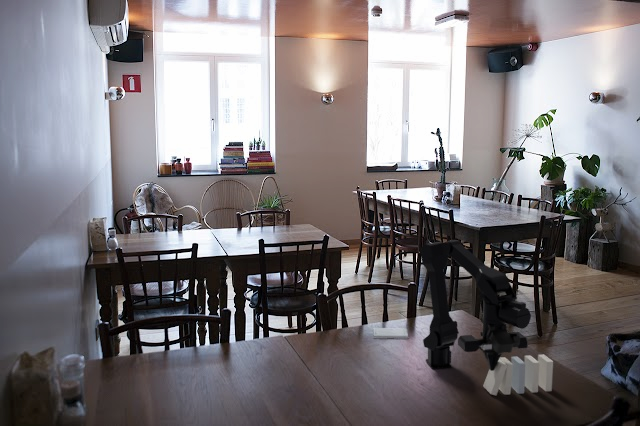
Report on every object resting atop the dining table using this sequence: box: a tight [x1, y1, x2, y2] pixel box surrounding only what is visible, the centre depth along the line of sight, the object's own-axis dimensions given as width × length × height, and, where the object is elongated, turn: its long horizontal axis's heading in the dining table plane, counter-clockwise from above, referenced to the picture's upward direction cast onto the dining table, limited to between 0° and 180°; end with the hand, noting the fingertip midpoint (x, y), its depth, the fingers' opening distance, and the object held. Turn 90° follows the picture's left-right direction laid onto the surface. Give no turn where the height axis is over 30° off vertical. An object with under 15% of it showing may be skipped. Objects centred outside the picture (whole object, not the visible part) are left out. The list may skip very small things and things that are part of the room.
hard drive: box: [372, 327, 409, 340], centre depth 205 cm, size 2×8×12 cm
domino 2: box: [498, 356, 513, 395], centre depth 160 cm, size 2×5×9 cm, turn 8°
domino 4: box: [523, 355, 539, 393], centre depth 161 cm, size 2×5×9 cm, turn 8°
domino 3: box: [510, 355, 526, 395], centre depth 160 cm, size 2×5×9 cm, turn 7°
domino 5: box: [537, 354, 554, 392], centre depth 162 cm, size 2×5×9 cm, turn 8°
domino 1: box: [483, 360, 507, 396], centre depth 159 cm, size 2×5×9 cm, turn 9°
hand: (491, 370), depth 159 cm, fingers closed
